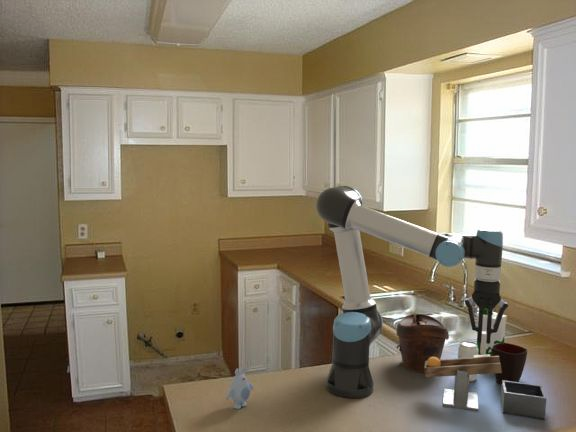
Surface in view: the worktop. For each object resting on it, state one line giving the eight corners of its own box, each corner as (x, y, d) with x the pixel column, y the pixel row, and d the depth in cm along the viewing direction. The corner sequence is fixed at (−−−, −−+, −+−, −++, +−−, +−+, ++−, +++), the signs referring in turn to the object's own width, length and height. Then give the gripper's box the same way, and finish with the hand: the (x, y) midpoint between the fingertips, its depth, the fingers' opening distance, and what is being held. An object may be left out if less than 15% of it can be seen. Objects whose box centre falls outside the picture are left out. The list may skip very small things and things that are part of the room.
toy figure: (233, 416, 154) (233, 375, 153) (219, 408, 158) (219, 369, 157) (260, 404, 162) (260, 365, 160) (246, 397, 166) (246, 359, 165)
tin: (502, 413, 159) (504, 392, 159) (500, 400, 168) (502, 380, 167) (544, 419, 156) (546, 398, 155) (540, 406, 165) (541, 385, 164)
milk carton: (483, 356, 206) (487, 304, 203) (506, 363, 199) (510, 309, 197) (471, 361, 200) (474, 308, 198) (494, 369, 193) (498, 314, 191)
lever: (425, 377, 166) (424, 368, 166) (428, 361, 179) (426, 353, 179) (501, 372, 159) (500, 363, 159) (498, 356, 173) (497, 348, 172)
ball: (428, 372, 167) (425, 359, 167) (428, 367, 171) (426, 355, 171) (441, 371, 166) (439, 358, 166) (441, 366, 170) (439, 354, 170)
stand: (443, 405, 164) (445, 369, 162) (444, 390, 174) (445, 357, 173) (478, 411, 161) (480, 374, 159) (477, 395, 171) (479, 361, 170)
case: (416, 351, 208) (418, 306, 206) (458, 369, 192) (461, 320, 190) (382, 361, 199) (383, 313, 196) (423, 381, 182) (425, 329, 180)
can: (461, 372, 189) (463, 339, 188) (479, 377, 185) (481, 343, 184) (453, 378, 184) (455, 344, 183) (472, 383, 180) (474, 348, 179)
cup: (485, 381, 182) (487, 347, 181) (507, 372, 191) (510, 339, 189) (513, 392, 174) (515, 356, 173) (535, 381, 183) (537, 347, 181)
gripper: (465, 279, 166) (461, 354, 169) (511, 283, 162) (506, 359, 165) (465, 274, 173) (461, 346, 176) (509, 278, 169) (504, 351, 172)
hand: (482, 352), depth 170 cm, fingers closed
